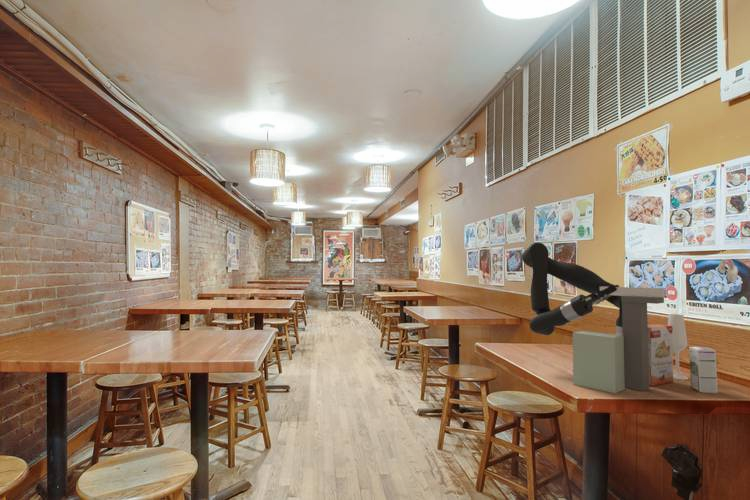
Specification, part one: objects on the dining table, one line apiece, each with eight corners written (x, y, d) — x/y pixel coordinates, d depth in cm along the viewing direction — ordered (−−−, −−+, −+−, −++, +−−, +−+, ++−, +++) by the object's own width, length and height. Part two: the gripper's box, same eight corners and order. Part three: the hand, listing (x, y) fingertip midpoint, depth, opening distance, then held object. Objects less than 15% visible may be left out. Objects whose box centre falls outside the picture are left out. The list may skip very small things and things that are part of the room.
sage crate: (573, 384, 151) (572, 332, 152) (583, 380, 156) (582, 330, 157) (615, 393, 141) (614, 337, 142) (624, 389, 146) (623, 335, 147)
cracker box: (652, 387, 149) (651, 327, 150) (635, 383, 154) (634, 325, 155) (675, 382, 155) (673, 325, 156) (657, 378, 161) (656, 323, 162)
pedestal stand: (623, 387, 148) (621, 296, 149) (630, 384, 152) (628, 295, 154) (659, 395, 139) (657, 297, 141) (666, 391, 144) (663, 296, 145)
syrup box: (718, 393, 141) (717, 349, 142) (698, 392, 142) (697, 349, 143) (708, 388, 147) (707, 346, 148) (689, 387, 148) (688, 346, 149)
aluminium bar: (599, 294, 156) (599, 286, 157) (603, 294, 158) (602, 286, 159) (662, 297, 141) (662, 288, 141) (665, 297, 143) (665, 288, 143)
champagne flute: (662, 375, 166) (661, 313, 167) (678, 374, 166) (676, 313, 167) (676, 379, 159) (674, 315, 160) (693, 379, 160) (691, 315, 161)
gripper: (562, 300, 161) (603, 278, 150) (579, 298, 170) (619, 277, 159) (572, 318, 158) (615, 297, 147) (589, 315, 167) (630, 295, 156)
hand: (617, 287), depth 153 cm, fingers closed on aluminium bar, 3 cm apart
